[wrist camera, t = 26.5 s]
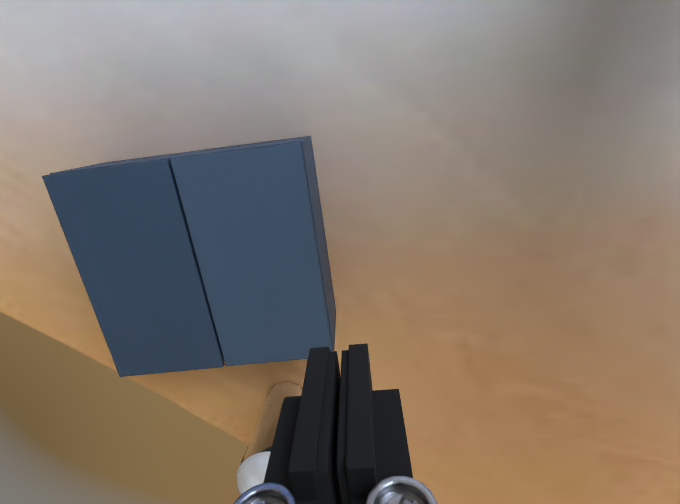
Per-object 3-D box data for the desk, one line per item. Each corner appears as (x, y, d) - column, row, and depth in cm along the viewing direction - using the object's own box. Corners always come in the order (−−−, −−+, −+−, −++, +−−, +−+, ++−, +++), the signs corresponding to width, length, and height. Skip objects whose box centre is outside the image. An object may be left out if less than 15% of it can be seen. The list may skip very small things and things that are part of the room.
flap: (172, 158, 21) (169, 159, 21) (300, 142, 20) (299, 143, 20) (227, 363, 25) (225, 366, 25) (332, 353, 25) (332, 356, 25)
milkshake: (265, 424, 34) (235, 541, 25) (258, 375, 32) (223, 481, 23) (315, 423, 34) (303, 540, 25) (311, 374, 32) (297, 480, 23)
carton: (105, 162, 27) (39, 175, 21) (310, 135, 26) (300, 141, 20) (160, 330, 31) (118, 377, 25) (336, 312, 30) (333, 357, 25)
